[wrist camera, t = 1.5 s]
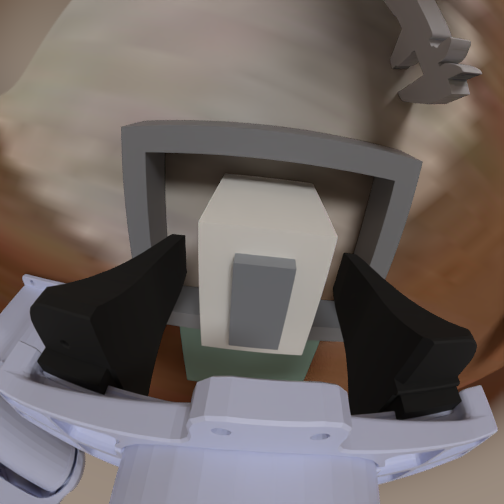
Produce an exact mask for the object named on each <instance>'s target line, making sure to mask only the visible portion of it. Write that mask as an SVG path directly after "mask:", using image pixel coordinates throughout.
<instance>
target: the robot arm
mask: <svg viewBox="0 0 504 504" xmlns="http://www.w3.org/2000/svg"><path fill="white" fill-rule="evenodd" d="M186 273H187V270H186V247H185V235H176V234H172V235H170V236H168V237H166V238H165V239H163V240H162V241H160V242H158V243H157V244H155V245H154V246H152V247H151V248H149V249H147V250H146V251H144V252H143V253H141V254H139V255H137V256H136V257H134V258H132V259H131V260H129V261H127V262H125V263H123V264H121V265H119V266H117V267H115V268H112V269H110V270H108V271H105V272H103V273H100V274H97V275H94V276H92V277H89V278H85V279H82V280H78V281H75V282H70V283H66V284H65V283H61V282H57V281H52V280H48V279H44V278H40V277H36V276H32V275H28V274H25V275H24V276H23V277H22V279H23V282H24V284H25V286H24V287H23V288H22V289H21V290H20V291H19V292H18V294H17V295H16V296H15V297H14V298H13V299H12V301H11V302H10V303H9V304H8V305H7V306H6V308H5V309H4V310H3V311H2V313H1V314H0V504H60V502H61V501H62V499H63V498H64V497H65V496H66V495H67V494H68V493H69V492H71V491H72V490H73V489H75V487H76V486H77V485H78V483H79V481H80V480H81V477H82V475H83V472H84V467H85V452H86V453H88V454H90V455H92V456H94V457H96V458H99V459H101V460H103V461H105V462H108V463H110V464H113V465H115V466H118V467H119V468H118V472H117V476H116V479H115V483H114V487H113V490H112V494H111V498H110V502H109V504H380V497H379V487H378V484H382V483H386V482H390V481H394V480H397V479H400V478H403V477H407V476H410V475H413V474H416V473H419V472H422V471H425V470H428V469H431V468H433V467H436V466H439V465H442V464H444V463H447V462H449V461H452V460H454V459H457V458H460V457H462V456H463V455H465V454H466V453H468V452H469V451H471V450H472V449H474V448H475V447H477V446H478V445H480V444H481V443H482V442H484V441H485V440H486V439H488V438H489V437H491V435H493V434H494V433H496V432H497V430H498V428H497V426H496V423H495V420H494V417H493V414H492V411H491V409H490V406H489V404H488V401H487V399H486V396H485V393H484V391H483V389H482V386H481V385H478V386H475V387H471V388H466V389H464V390H462V391H460V392H458V390H457V387H456V386H458V385H459V384H460V381H459V379H458V375H459V374H460V373H461V372H462V371H463V369H464V368H465V367H466V366H467V365H468V363H469V362H470V361H471V359H472V358H473V356H474V354H475V352H476V348H477V344H476V342H475V340H474V338H473V336H472V334H471V333H470V331H469V330H468V329H466V328H463V327H460V326H458V325H455V324H453V323H450V322H448V321H446V320H444V319H442V318H440V317H438V316H436V315H434V314H432V313H430V312H429V311H427V310H425V309H424V308H422V307H420V306H419V305H417V304H416V303H414V302H413V301H411V300H410V299H408V298H407V297H406V296H404V295H403V294H402V293H400V292H399V291H398V290H396V289H395V288H394V287H393V286H392V285H390V284H389V283H388V282H387V281H386V280H385V279H384V278H382V277H381V276H380V275H379V274H378V273H377V272H376V271H375V270H374V269H373V268H372V267H370V266H369V265H368V264H367V263H366V262H365V261H364V260H363V259H361V258H360V257H359V256H358V255H356V254H348V253H344V254H343V258H342V261H341V264H340V268H339V271H338V274H337V277H336V281H335V284H334V287H333V294H334V303H335V309H336V313H337V317H338V321H339V325H340V329H341V333H342V337H343V341H344V346H345V351H346V360H347V371H348V395H347V392H346V391H345V390H343V389H342V388H341V387H340V386H338V385H336V384H331V383H325V382H312V381H287V380H272V379H260V378H249V377H239V376H212V377H210V378H207V379H204V380H202V381H199V382H197V384H196V386H195V388H194V391H193V395H192V400H191V403H181V402H170V401H165V400H161V399H156V398H152V397H148V394H149V388H150V383H151V378H152V373H153V369H154V364H155V360H156V356H157V353H158V349H159V345H160V342H161V338H162V335H163V332H164V329H165V327H166V324H167V322H168V320H169V318H170V315H171V313H172V311H173V309H174V306H175V304H176V302H177V300H178V297H179V295H180V293H181V290H182V287H183V284H184V280H185V277H186Z"/></svg>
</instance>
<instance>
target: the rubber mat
mask: <svg viewBox="0 0 504 504" xmlns="http://www.w3.org/2000/svg"><path fill="white" fill-rule="evenodd" d="M180 333H181V341H182V348H183V355H184V362H185V368H186V375H187V380H192V381H198V382H199V381H202V380H204V379H207V378H210V377H212V376H239V377H249V378H260V379H272V380H287V381H303V380H304V378H305V376H306V373H307V371H308V369H309V366H310V364H311V361H312V359H313V357H314V354H315V352H316V349H317V347H318V344H319V342H320V341H316V340H307V342H306V344H305V347H304V350H303V353H302V355H287V354H273V353H261V352H251V351H241V350H232V349H224V348H216V347H209V346H202V345H201V329H194V328H187V327H181V326H180Z"/></svg>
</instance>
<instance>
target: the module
mask: <svg viewBox="0 0 504 504" xmlns="http://www.w3.org/2000/svg"><path fill="white" fill-rule="evenodd" d="M337 238H338V236H337V234H336V232H335V230H334V228H333V225H332V223H331V221H330V219H329V217H328V214H327V212H326V210H325V208H324V206H323V204H322V202H321V200H320V197H319V195H318V193H317V191H316V189H315V187H314V185H313V183H307V182H300V181H292V180H284V179H276V178H267V177H258V176H248V175H237V174H226V173H225V174H224V176H223V178H222V180H221V181H220V183H219V185H218V187H217V189H216V190H215V192H214V194H213V196H212V198H211V199H210V201H209V203H208V205H207V207H206V208H205V210H204V212H203V214H202V216H201V218H200V220H199V221H198V263H199V302H200V326H201V345H202V346H209V347H216V348H224V349H232V350H241V351H251V352H261V353H273V354H287V355H302V353H303V350H304V347H305V344H306V342H307V339H308V336H309V333H310V330H311V327H312V324H313V321H314V318H315V314H316V311H317V308H318V305H319V302H320V299H321V295H322V292H323V289H324V285H325V282H326V279H327V275H328V272H329V268H330V264H331V261H332V257H333V254H334V250H335V246H336V242H337Z"/></svg>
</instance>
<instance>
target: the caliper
mask: <svg viewBox="0 0 504 504" xmlns="http://www.w3.org/2000/svg"><path fill="white" fill-rule="evenodd" d="M384 1H385V4H386V5H387V6H388V8H389V9H390V10H391V12H392V13H393V15H394V16H397V19H398V21H399V23H400V26H401V28H402V30H401V32H400V35H399V38H398V40H397V43H396V45H395V48H394V50H393V53H392V55H391V58H390V62H391V66H392V69H399V68H409V67H410V66H414V65H416V64H417V63H418V62H419V63H420V66H421V69H422V71H423V74H424V75H423V76H422V77H420V78H419V79H417V80H416V81H414V82H413V83H411V84H410V85H408V86H407V87H405V88H404V89H402V90H401V91H399V92H398V94H399V97H400V98H401V100H402V101H405V102H413V103H423V104H447V103H449V102H452V101H454V100H457V99H459V98H462V97H464V96H467V95H469V94H470V93H469V89H468V85H467V81H466V80H467V79H470V78H472V77H475V76H478V75H480V74H482V72H481V71H480V70H479V69H477V68H476V67H473V66H469V65H462V64H458V63H460V62H462V61H463V59H464V58H465V57H466V55H467V53H468V50H469V48H470V45H471V41H470V40H466V39H460V38H453V37H452V36H451V33H450V30H449V28H448V26H447V23H446V21H445V19H444V17H443V15H442V13H441V11H440V9H439V7H438V5H437V3H436V1H435V0H384Z"/></svg>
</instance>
